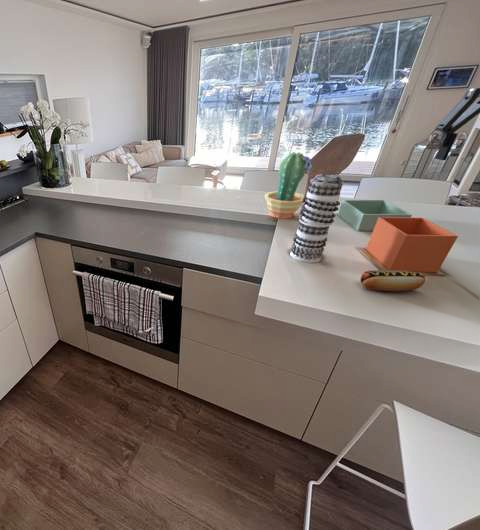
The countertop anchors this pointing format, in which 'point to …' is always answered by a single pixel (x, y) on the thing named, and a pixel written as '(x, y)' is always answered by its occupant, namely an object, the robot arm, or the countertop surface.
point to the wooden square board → (386, 269)
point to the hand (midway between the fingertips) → (470, 158)
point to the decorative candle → (316, 217)
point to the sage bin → (368, 212)
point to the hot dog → (392, 280)
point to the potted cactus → (288, 186)
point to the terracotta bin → (410, 244)
